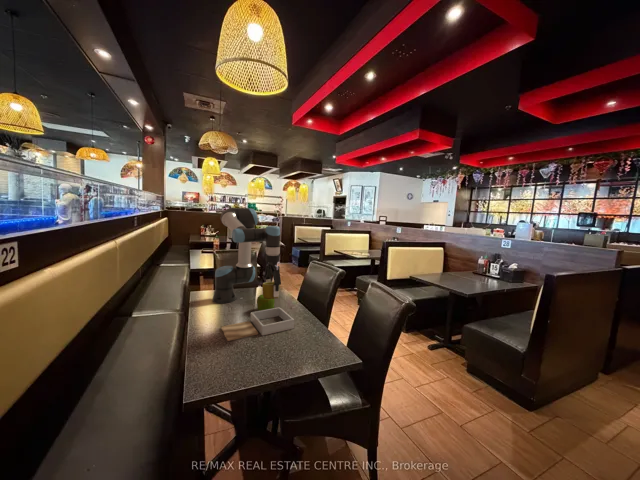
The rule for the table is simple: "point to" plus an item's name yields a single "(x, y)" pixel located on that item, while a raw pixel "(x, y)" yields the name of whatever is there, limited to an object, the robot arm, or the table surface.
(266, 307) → the apple
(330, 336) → the table surface
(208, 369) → the table surface
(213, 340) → the table surface
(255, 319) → the tub
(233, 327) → the board
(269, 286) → the mug
